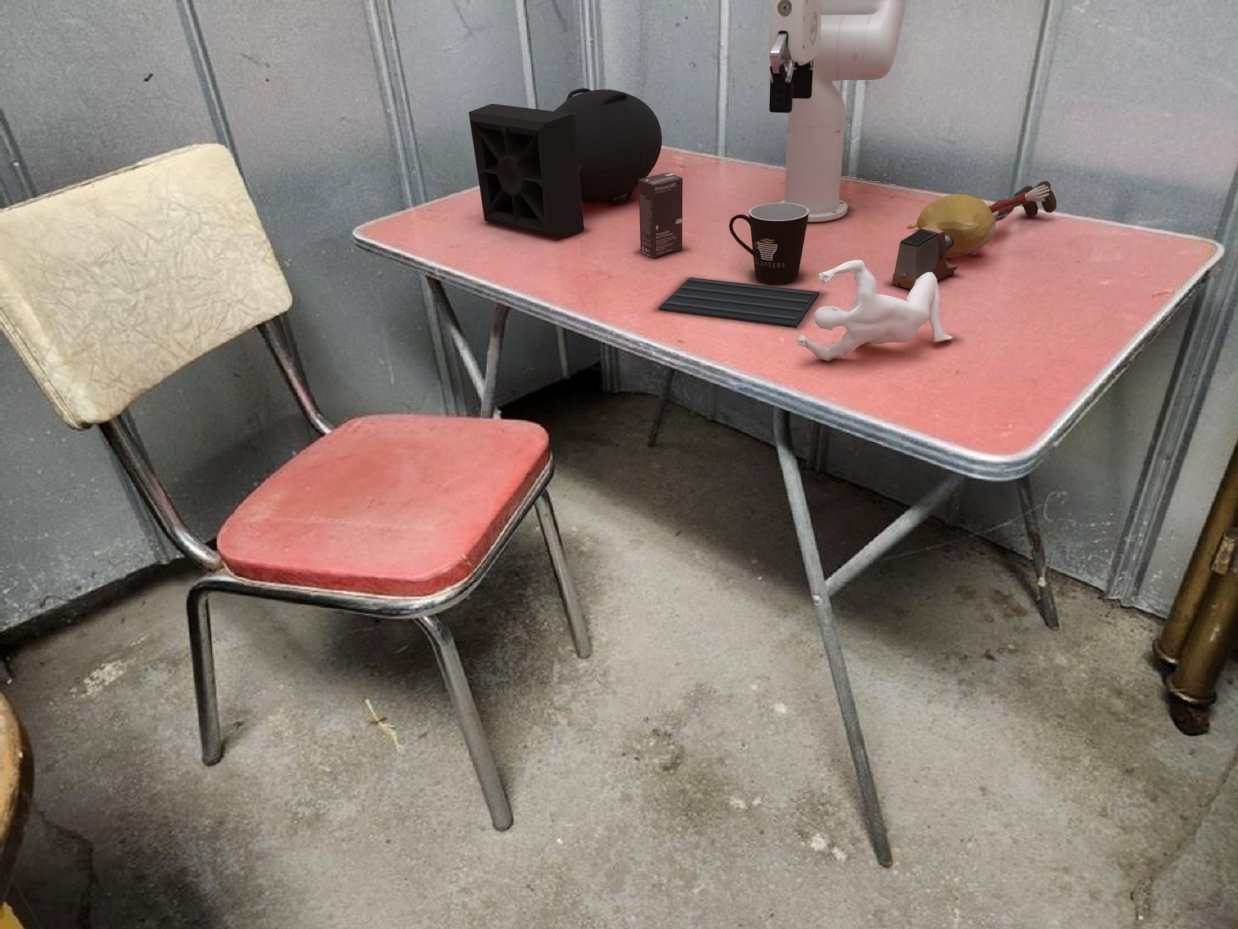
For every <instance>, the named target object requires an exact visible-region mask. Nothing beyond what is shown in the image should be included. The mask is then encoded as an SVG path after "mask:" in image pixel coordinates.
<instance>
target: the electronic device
mask: <svg viewBox="0 0 1238 929" xmlns="http://www.w3.org/2000/svg"><path fill="white" fill-rule="evenodd" d="M953 244H954V240H953V239H952V237H950V236H948V235H945V233H944V231H943V230H939V229H936V228H932V227H927V226H926V227H924V228H921V229H920V230H919V229H918V230H916V231H915V232H913V233H912V234H910V235H908V236H906V237H904V238H903V239H902V240H900V242H899V245H898V251H897V258H896V260H895V267H894V271H893V274H892V281H891V284H892V285H894V286H896V287H901V288H902V289H907V290H910V291H911V289H912V288H913V287H914V284H915V281H916V280H917V279H918V278H919V277H920V276H921V275H923V274H925V273H927V272H932V273H933V274H934V275H935V277H936V278H937V281H939V280H941V279H943V278H944V277H953V276H954V275H955V272H956V271H957V270H958V266H957V265H955V264H950V263H947V258H948V257H947V256H946V252H947V251H948V250H949V249H950V248H951V247H953Z"/></svg>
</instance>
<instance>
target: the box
mask: <svg viewBox="0 0 1238 929" xmlns="http://www.w3.org/2000/svg"><path fill="white" fill-rule="evenodd" d="M683 182H684V178H683V177H682V176H679V175H676V174H674V173H670V172H665V173H660V174H654V175H650V176H647V178H643V179H639V186H638V203H639V204H638V208H639V210H638V211H639V213H638V214H639V241H640V242H639V245H640V246H639V247H640V248H639V249H640V252H641V254H644V255H646V256H647V257H651V258H657V257H661V256H664V255H667V254H671V253H674V252H678V251H682V250H683V196H684V194H683V190H684V188H683V187H684V186H683Z"/></svg>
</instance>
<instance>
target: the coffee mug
mask: <svg viewBox="0 0 1238 929" xmlns="http://www.w3.org/2000/svg"><path fill="white" fill-rule="evenodd" d="M808 216H809V209H808V208H807V207H805V206H802V205H799V204H794V203H779V202H769V203H762V204H758V205H755V206H753V207H751V208H750V209H749V211H748V216H747V215H746V214H743V213H741V214H736V215H734V216H732V217H731V218H730V220H729V224H728V230H729V232H730V234H731V236H732V237H733V239H734V240H735V241H736V242H737V243H738V244H739V245H740V246H741V247H742V248H743V249H744V250H746V251H747V252H748V253H749V254H750V255H751V256H752V258H753V269H754V279H755V280H756V281H757V282H759V283H761V284H763V285H767V286H782V285H789V284H792V283H795V282H796V281H797V280H799V273H800V269H801V268H800V267H801V262H802V256H803V249H804V244H805V238H806V232H807V227H808V223H809V222H808ZM738 219H742V220H744V221H746V222H747V224H748V225H749V227H750V228H749V229H750V238H751V239H750V240H751V247H750V246H748V245H747V243H745V242H744V241H743V240H741V239H740V237H739V236H738V235H737V233H736V231H735V229H734V223H735V221H737V220H738Z"/></svg>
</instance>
